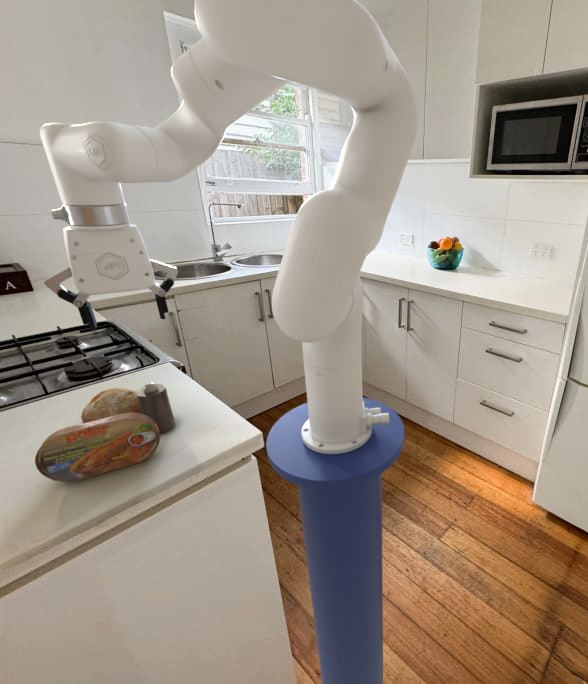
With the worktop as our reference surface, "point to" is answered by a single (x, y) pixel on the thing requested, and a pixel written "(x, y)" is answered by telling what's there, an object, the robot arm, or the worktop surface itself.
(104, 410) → the bread roll
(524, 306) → the worktop surface
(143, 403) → the pepper mill
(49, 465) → the tin
